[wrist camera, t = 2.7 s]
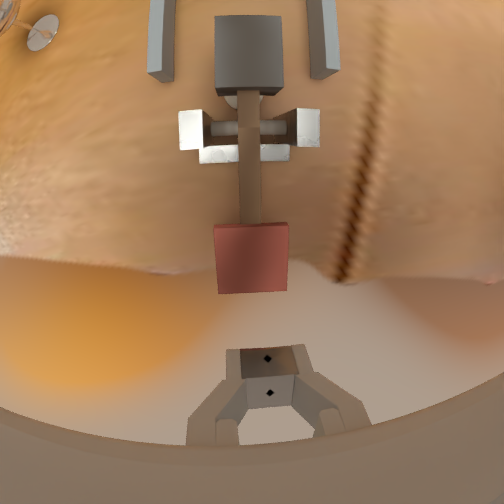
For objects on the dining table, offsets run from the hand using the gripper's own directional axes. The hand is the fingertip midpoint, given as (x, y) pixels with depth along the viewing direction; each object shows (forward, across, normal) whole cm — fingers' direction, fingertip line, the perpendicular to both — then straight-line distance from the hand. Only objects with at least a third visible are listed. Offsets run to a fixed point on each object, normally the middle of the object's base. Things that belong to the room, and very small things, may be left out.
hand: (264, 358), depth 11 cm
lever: (+19, 0, -7) cm, 20 cm away
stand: (+20, 0, -9) cm, 21 cm away
